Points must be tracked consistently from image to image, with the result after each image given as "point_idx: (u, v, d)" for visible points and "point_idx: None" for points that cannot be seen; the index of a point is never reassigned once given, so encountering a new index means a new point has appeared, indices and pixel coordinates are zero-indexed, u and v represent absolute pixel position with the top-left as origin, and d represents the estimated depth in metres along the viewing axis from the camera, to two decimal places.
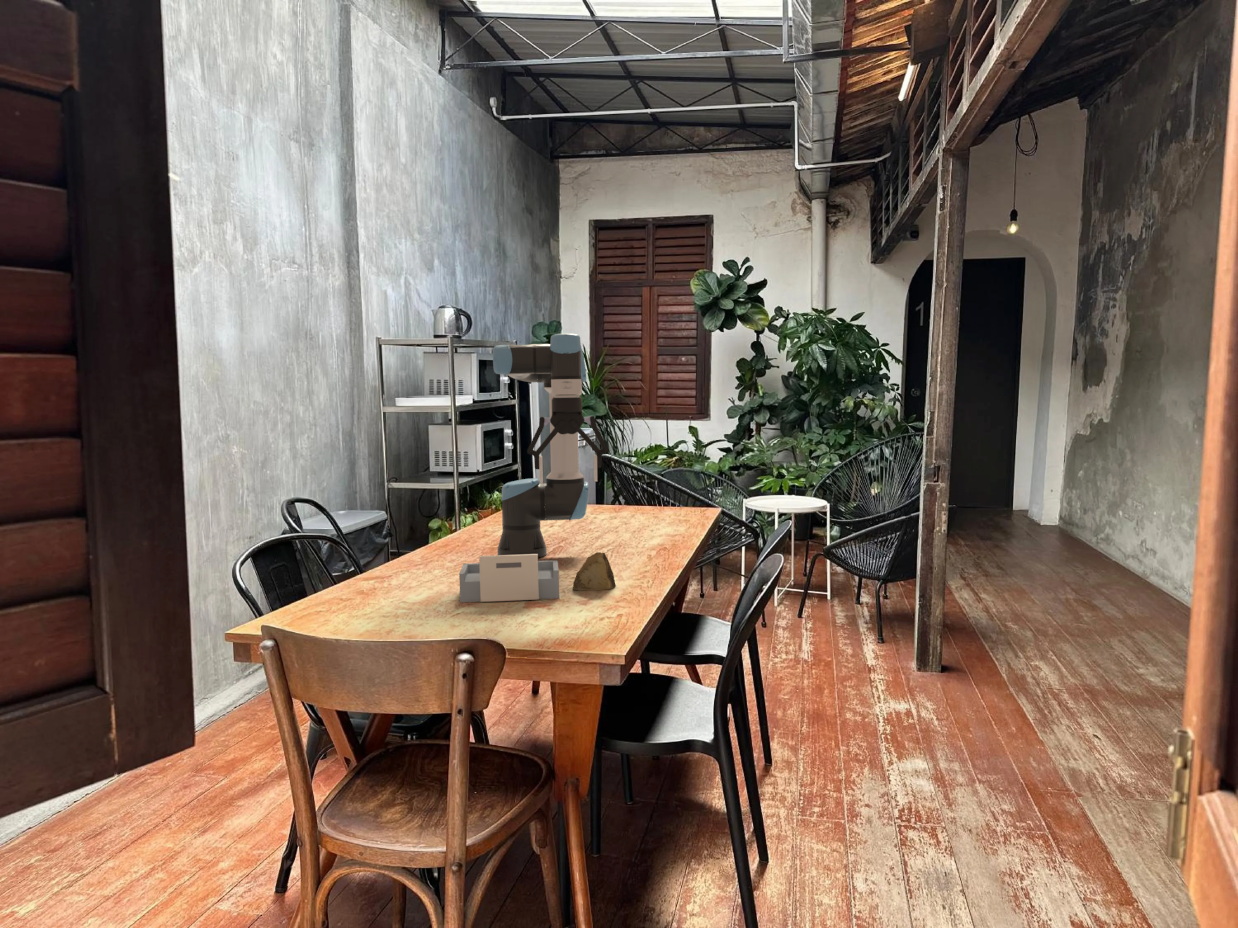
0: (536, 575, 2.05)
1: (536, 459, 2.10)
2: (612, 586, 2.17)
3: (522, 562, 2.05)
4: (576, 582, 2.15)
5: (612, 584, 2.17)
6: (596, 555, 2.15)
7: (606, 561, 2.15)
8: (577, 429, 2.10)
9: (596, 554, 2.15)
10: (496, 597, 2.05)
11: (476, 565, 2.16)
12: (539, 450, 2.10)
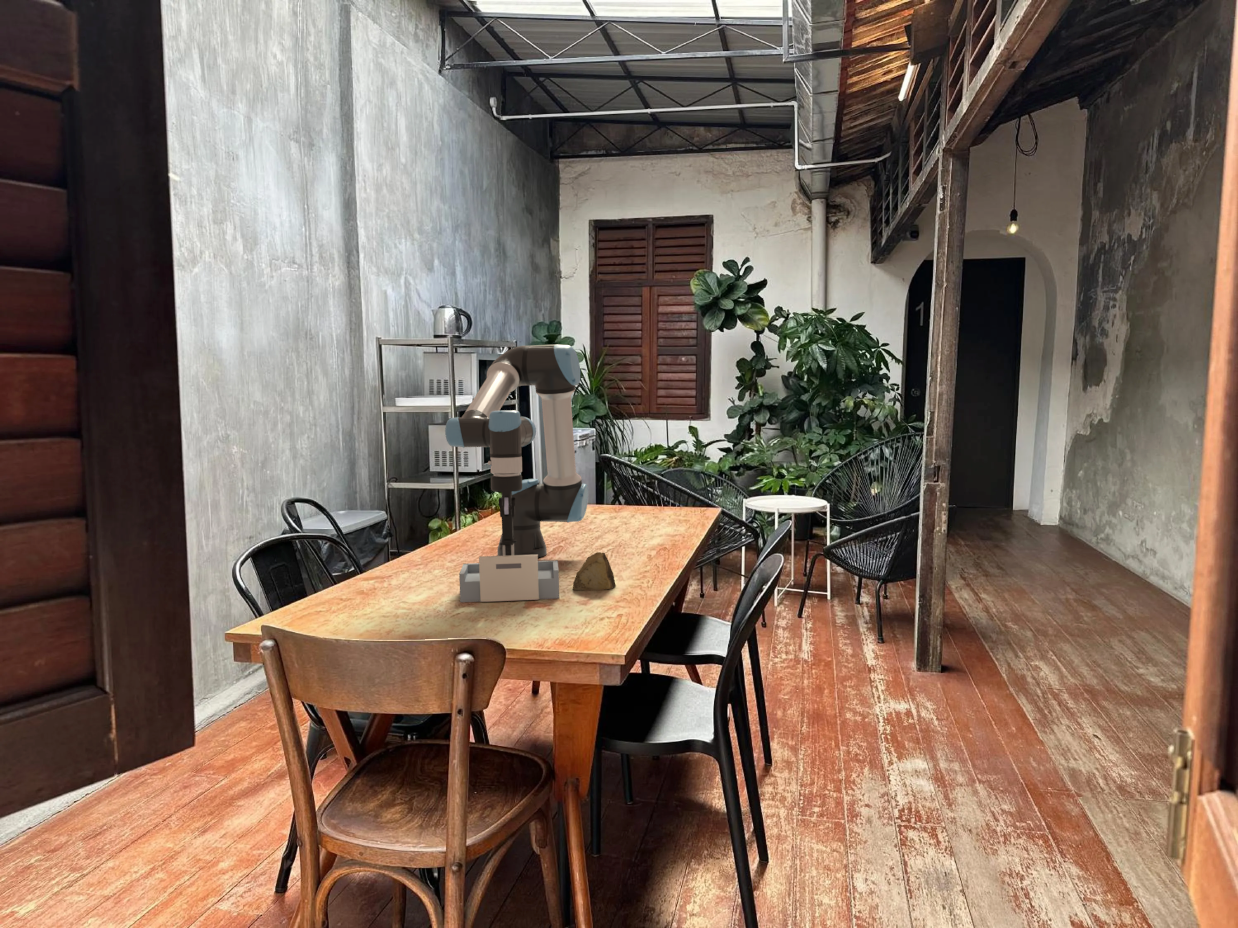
0: (536, 576, 2.05)
1: None
2: (612, 586, 2.17)
3: (522, 563, 2.04)
4: (576, 582, 2.15)
5: (612, 584, 2.17)
6: (596, 555, 2.15)
7: (606, 561, 2.15)
8: (500, 510, 2.04)
9: (596, 554, 2.15)
10: (496, 597, 2.05)
11: (476, 565, 2.16)
12: None
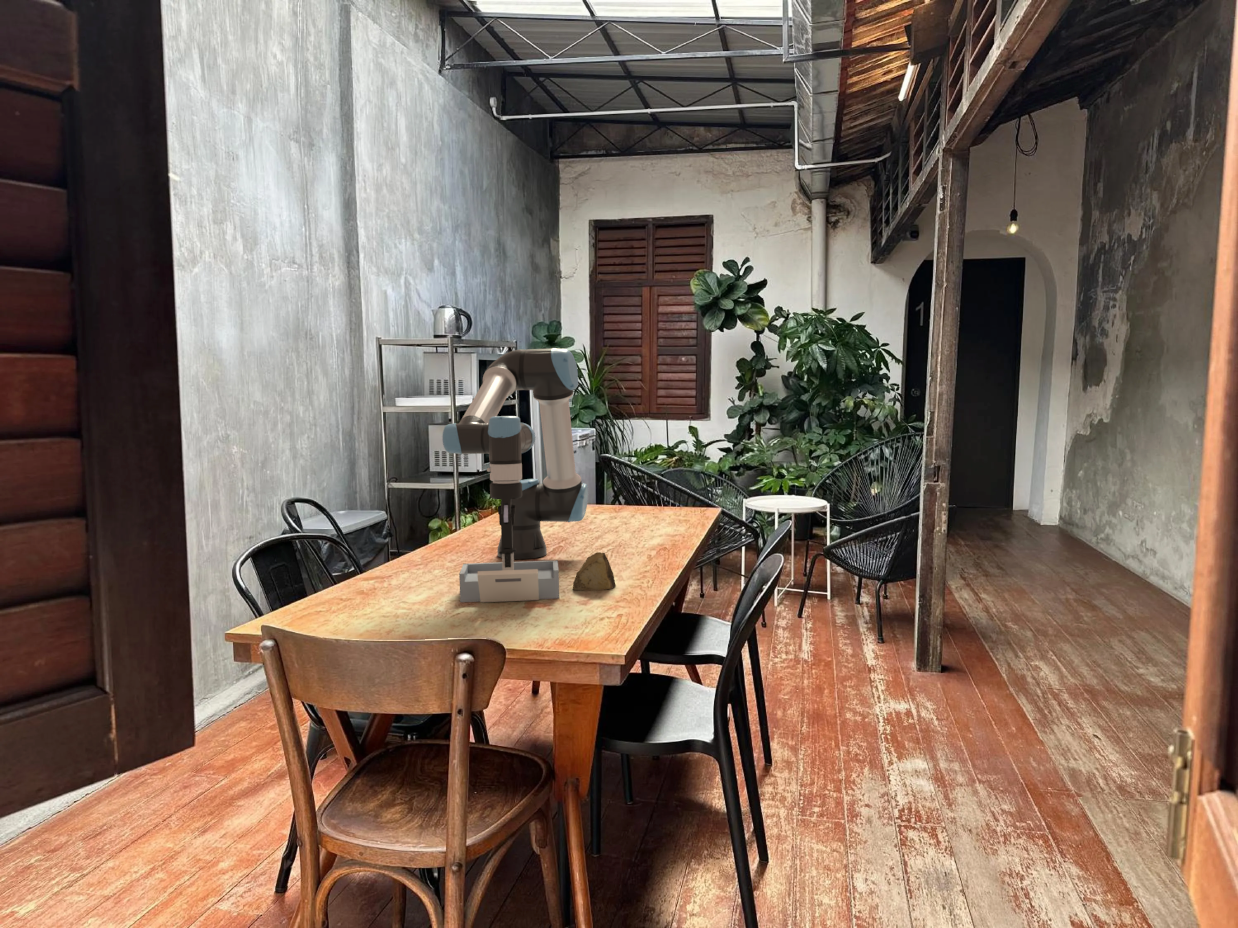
0: (536, 585, 2.01)
1: None
2: (612, 586, 2.17)
3: (522, 578, 1.99)
4: (576, 582, 2.15)
5: (612, 584, 2.17)
6: (596, 555, 2.15)
7: (606, 561, 2.15)
8: (499, 518, 1.99)
9: (596, 554, 2.15)
10: (496, 599, 2.04)
11: (476, 565, 2.16)
12: None
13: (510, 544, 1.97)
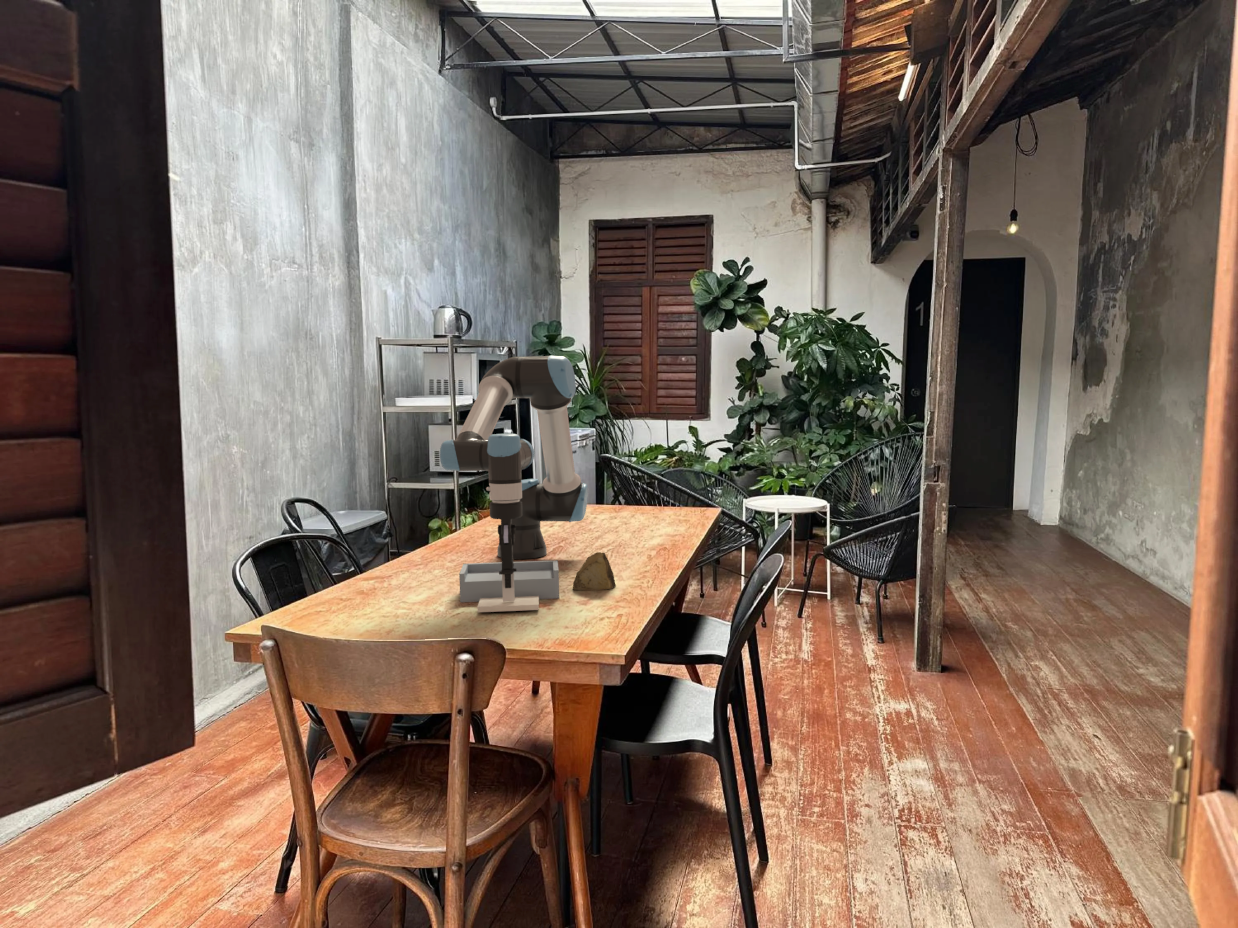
0: None
1: None
2: (612, 586, 2.17)
3: None
4: (576, 582, 2.15)
5: (612, 584, 2.17)
6: (596, 555, 2.15)
7: (606, 561, 2.15)
8: (499, 538, 1.96)
9: (596, 554, 2.15)
10: None
11: (476, 565, 2.16)
12: None
13: (510, 565, 1.93)
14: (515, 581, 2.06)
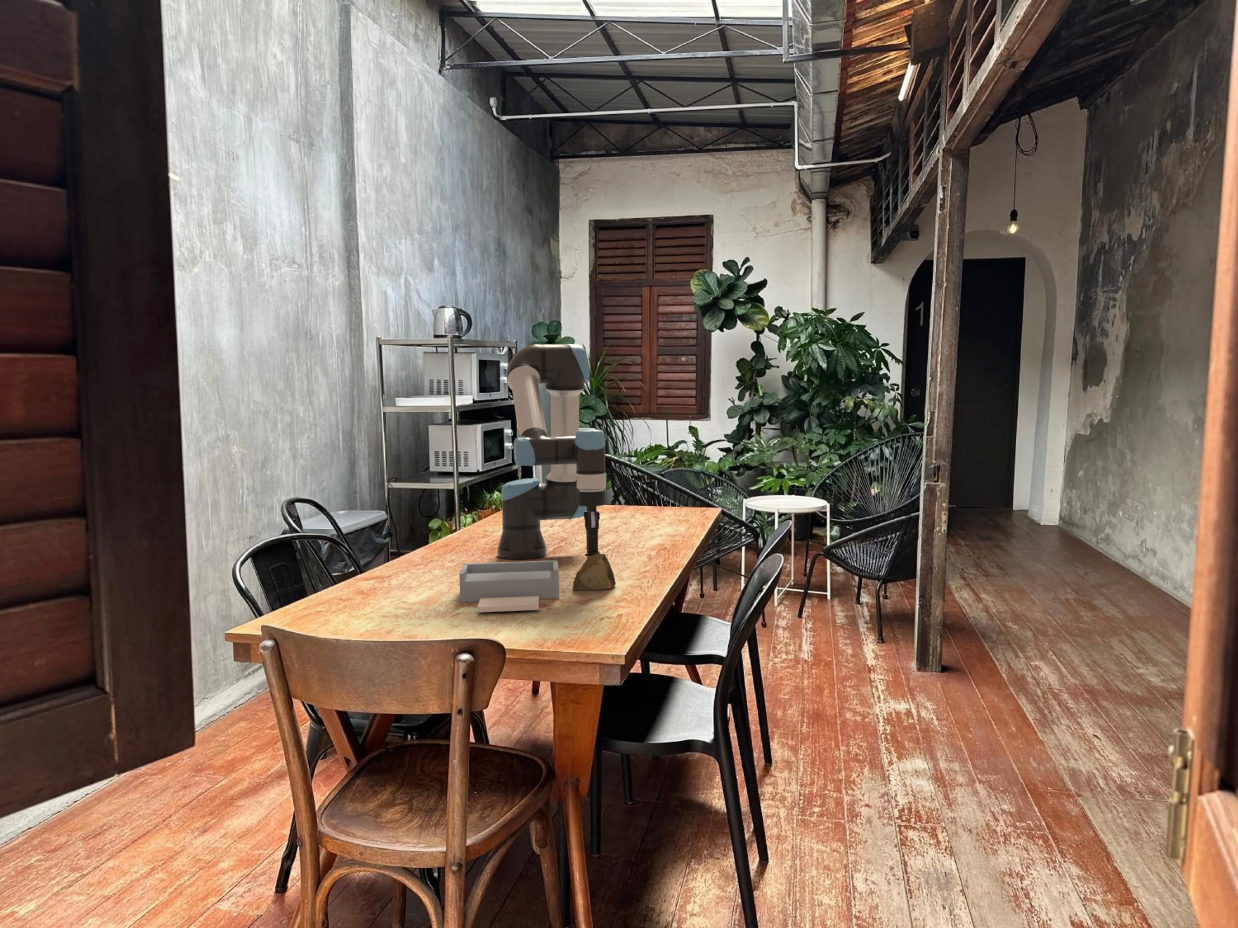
0: None
1: None
2: (612, 585, 2.17)
3: None
4: (576, 582, 2.15)
5: (612, 583, 2.17)
6: (596, 556, 2.13)
7: (606, 562, 2.14)
8: (585, 523, 2.17)
9: (596, 555, 2.14)
10: None
11: (476, 565, 2.16)
12: (587, 547, 2.20)
13: (596, 547, 2.15)
14: (515, 581, 2.06)
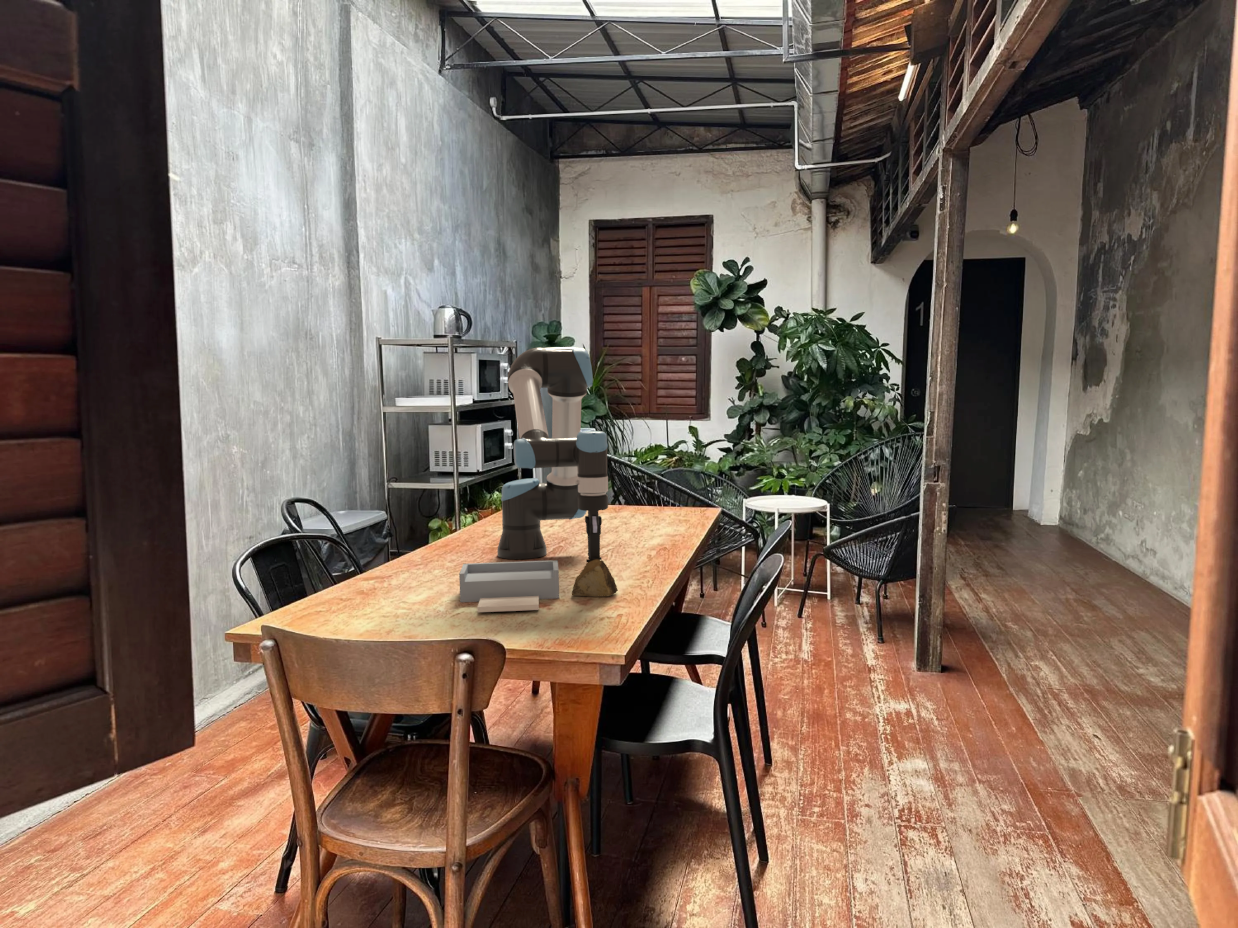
0: None
1: None
2: (612, 592, 2.09)
3: None
4: (574, 588, 2.08)
5: (612, 590, 2.09)
6: (594, 563, 2.06)
7: (604, 569, 2.06)
8: (586, 528, 2.10)
9: (594, 561, 2.06)
10: None
11: (476, 565, 2.16)
12: None
13: (598, 553, 2.08)
14: (515, 581, 2.06)
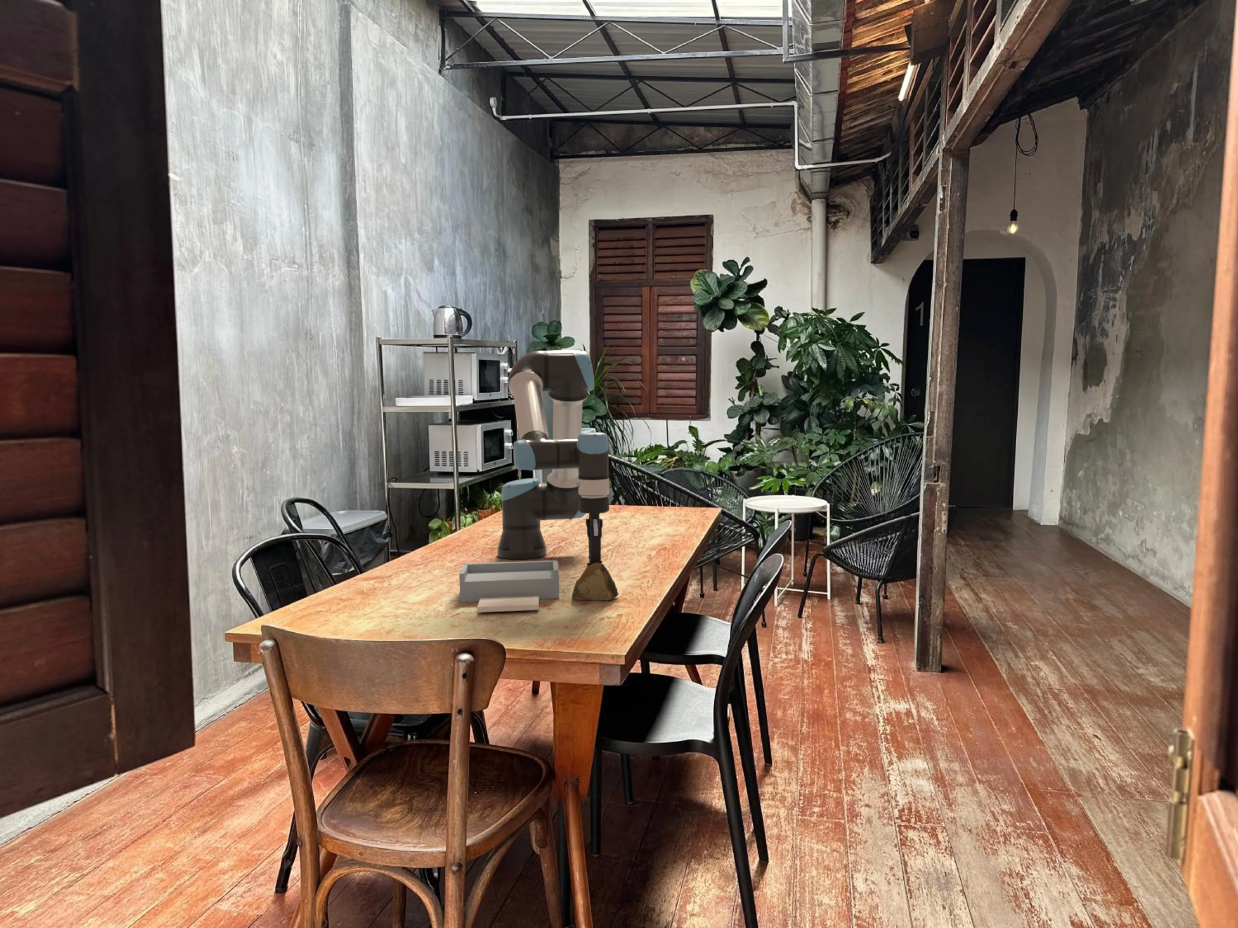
0: None
1: None
2: (613, 596, 2.05)
3: None
4: (574, 592, 2.05)
5: (613, 594, 2.05)
6: (594, 566, 2.02)
7: (605, 572, 2.02)
8: (587, 531, 2.06)
9: (594, 565, 2.02)
10: None
11: (476, 565, 2.16)
12: (589, 556, 2.09)
13: (599, 557, 2.04)
14: (515, 581, 2.06)
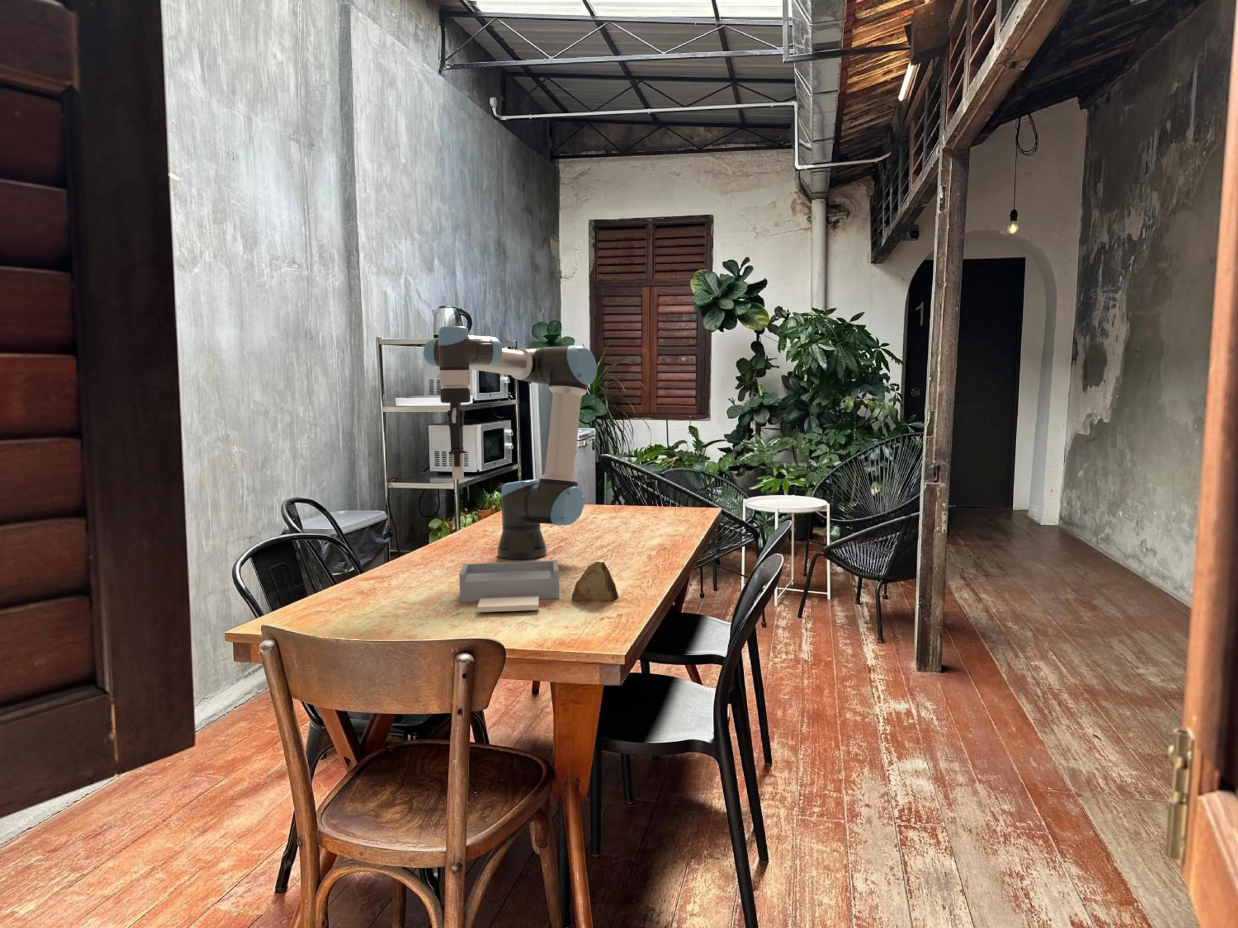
0: None
1: None
2: (613, 598, 2.05)
3: None
4: (574, 592, 2.05)
5: (613, 595, 2.05)
6: (595, 564, 2.04)
7: (605, 571, 2.03)
8: None
9: (595, 563, 2.04)
10: None
11: (476, 565, 2.16)
12: None
13: (458, 444, 2.14)
14: (515, 581, 2.06)
